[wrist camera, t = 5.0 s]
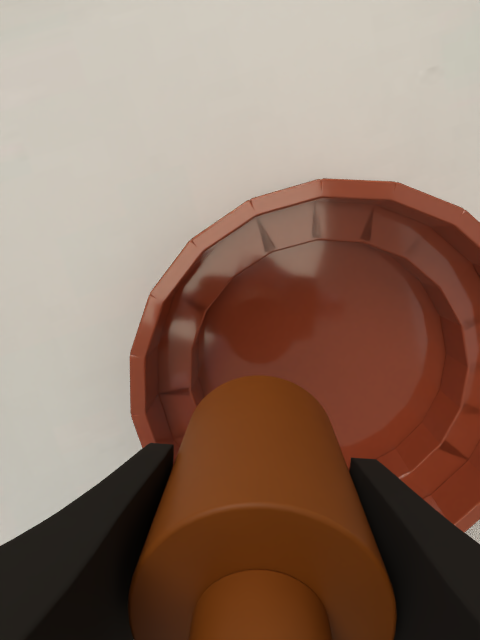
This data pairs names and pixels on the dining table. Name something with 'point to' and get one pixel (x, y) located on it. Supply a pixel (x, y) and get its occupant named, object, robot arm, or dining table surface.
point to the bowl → (332, 327)
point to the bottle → (260, 529)
